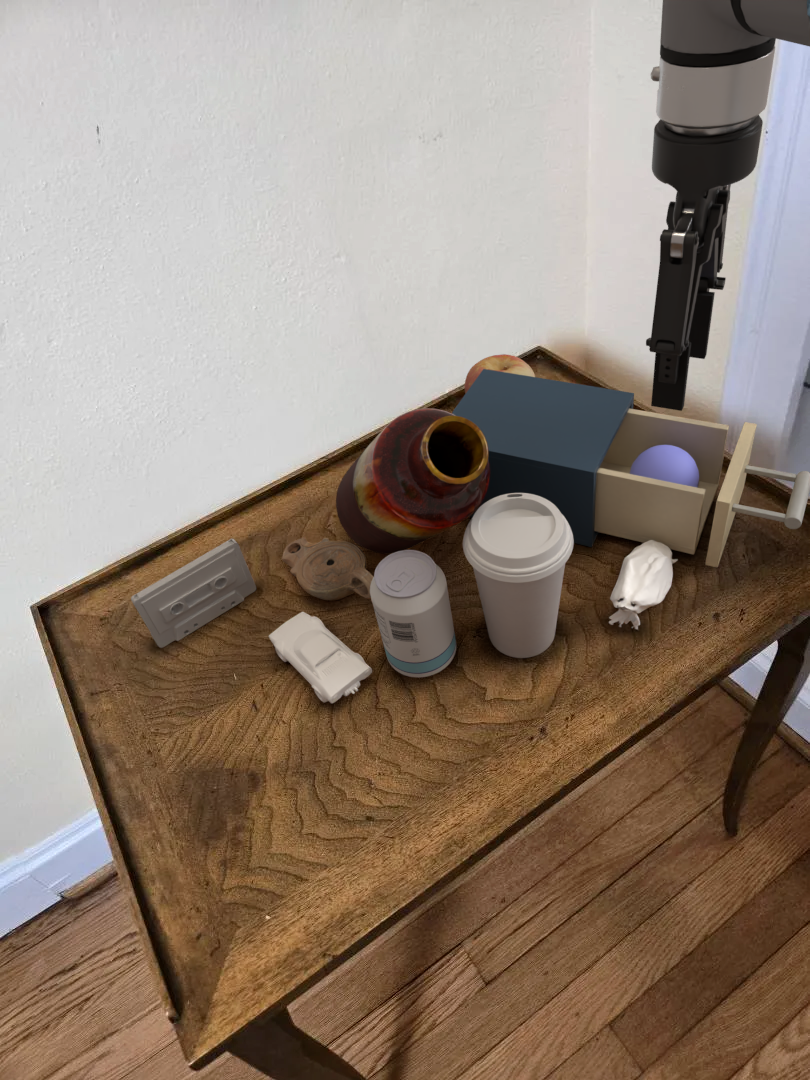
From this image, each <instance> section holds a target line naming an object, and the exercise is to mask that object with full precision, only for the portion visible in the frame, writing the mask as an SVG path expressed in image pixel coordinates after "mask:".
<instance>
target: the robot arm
mask: <svg viewBox="0 0 810 1080" xmlns="http://www.w3.org/2000/svg"><path fill="white" fill-rule="evenodd" d="M661 7H662V9H661V23H660V24H661V25H660V40H659V41H660V44H659V55H660V57H659V65H658V66H654V67H652V69H651V71H650V79H651V80H652V81H653V82H658V88H657V91H656V92H657V93H656V108H655V113H656V116H657V117H658V118H659V120H658V122H657V123H656V124H655V125H654V128H653V141H652V143H653V144H652V154H651V155H652V157H651V171H652V172H651V173H652V174H653V176H654V177H655V178H656V179H657V181H659V182H661V183H663V184H664V185H669V186H670V187H672V188H673V189H674V190H675V191H676V195H675V201H669V203H668V207H667V212H666V218H665V223H666V225H667V229H662V231H661V234H660V236H659V242H660V245H659V246H660V247H659V266H658V274H657V275H658V276H657V283H656V291H655V301H654V308H653V317H652V326H651V335H650V337H648V338H647V339H645V346H646V347H648V349H649V352H651V353H655V355H654V364H653V365H654V367H653V369H654V370H653V378H652V379H653V380H652V381H653V382H652V390H651V401H650V402H651V403H650V406H651V407H654V408H661V409H667V410H673V411H678V412H679V411H680V412H682V411H683V410H684V408H685V400H686V391H687V384H688V383H687V382H688V375H689V368H690V367H689V366H690V358H695V359H699V360H700V359H702V360H705V359H706V357H707V353H708V345H709V340H710V339H709V338H710V331H711V323H712V318H713V317H712V315H713V310H714V309H713V308H714V301H715V293H716V292H714V291H710V290H719V291H723V290H724V288H725V284H726V280H727V277H725V276H723V277H722V276H718V274H720V272H721V270H722V269H723V267H724V266H723V265H724V262H723V259H724V258H723V257H724V247H725V239H726V229H727V222H728V221H727V220H728V211H729V204H730V200H731V187H732V185H733V184H735V183H738V182H740V181H742V180H744V179H745V178H747V177H749V175H750V174H752V173H753V171H754V170H755V168H756V166H757V163H758V156H759V149H760V143H761V137H762V131H763V125H764V121H763V119H762V117H761V116H760V114H762V112H763V111H765V110H766V107H767V106H768V105H767V104H768V97H769V91H770V84H771V78H772V71H773V65H774V60H775V59H774V58H775V54H776V53H775V51H776V39H777V40H781V41H785V42H788V43H793V44H797V45H801V46H805V47H809V48H810V0H662V6H661Z"/></svg>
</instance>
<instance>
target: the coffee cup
mask: <svg viewBox="0 0 810 1080" xmlns="http://www.w3.org/2000/svg"><path fill="white" fill-rule="evenodd" d="M574 545H575V543H574V538H573V534H572V530H571V528H570V525H569V523H568V522H567V520H566V519H565V517H564V516H563V515H562V514H561V512H560V511H559V509H558V508H557V507H556V506H555V505H554V504H553V503H551V502H550V501H548V500H547V499H545V498H543V497H540V496H537V495H534V494H528V493H510V494H504V495H500V496H497V497H495V498H492V499H490V500H489V501H487V502H485V503H484V504H483V505H482V506H480V507H479V508H478V510H477V511H476V512H475V514H474V516H473V517H472V518H471V519H470V520H469V522H468V524H467V526H466V527H465V531H464V534H463V539H462V549H463V554H464V556H465V558H466V560H467V562H468V563H469V565H470V566H472V569H473V573H474V577H475V581H476V586H477V590H478V595H479V598H480V599H479V600H480V603H481V607H482V612H483V616H484V620H485V624H486V628H487V629H486V630H487V634H488V637H489V640H490V642H491V644H492V645H493V647H494V648H495V649H496V650H497V651H499V652H500V653H502V654H504V655H505V656H508V657H511V658H515V659H528V658H531V657H532V658H533V657H536V656H538V655H540V654H542V653H544V652H545V651H546V650H548V648H550V647H551V646H552V643H553V641H554V639H555V636H556V629H557V624H558V623H557V621H558V617H559V608H560V602H561V594H562V589H563V588H562V587H563V582H564V576H565V575H564V574H565V567H566V563H567V562H568V561H569V559H570V557H571V555H572V552H573V549H574Z"/></svg>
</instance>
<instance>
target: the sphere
mask: <svg viewBox="0 0 810 1080" xmlns="http://www.w3.org/2000/svg"><path fill="white" fill-rule="evenodd" d="M630 474H633V475H638V476H643V477H648V478H653V479H658V480H662V481H667V482H672V483H677V484H682V485H687V486H692V487H697V488H698V483H699V471H698V468H697V465H696V463H695V461H694V459H693V458H692V457H691V456H690V455H689V454H688V453H687V452H686V451H684V450H683V449H681V448H679V447H676V446H672V445H657V446H654V447H651V448H649V449H647V450H645V451H644V452H642V453H641V454H640V455H639V456H638V457H637V458H636V460H635V461H634V462H633V464H632V466H631V470H630Z"/></svg>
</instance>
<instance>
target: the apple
mask: <svg viewBox="0 0 810 1080" xmlns="http://www.w3.org/2000/svg"><path fill="white" fill-rule="evenodd" d="M483 369H488V370H494V371H500V372H506V373H512V374H519V375H525V376H531V377H536V374H535V373H534V369H532V367H531V366H530V364H528V363H527V362H526V361H525V360H523V359H521V358H520V357H517V356H516V355H513V354H512V355H511V354H504V353H503V354H502V353H501V354H493V355H489V356H487V357H484V358H482V359H481V360H479V361H477V362H476V363H474V365H472V366H471V368H470V369H469V370H468V372H467V375H466V377H465V380H464V393H465V394H466V393H467V391H468V390H469V388H470V387H471V386H472V384H473V383H474V381H475V380H476V379H477V377H478V376H479V374H480V373H481V372H482V370H483ZM465 394H464V395H465Z"/></svg>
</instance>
